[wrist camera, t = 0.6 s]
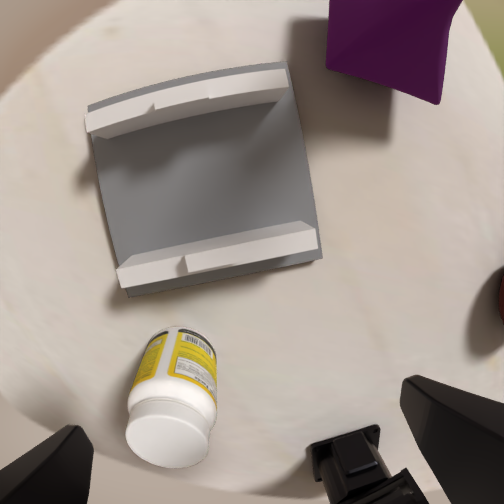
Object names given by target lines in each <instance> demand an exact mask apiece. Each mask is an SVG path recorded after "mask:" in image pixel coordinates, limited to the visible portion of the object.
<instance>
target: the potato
mask: <svg viewBox="0 0 504 504" xmlns="http://www.w3.org/2000/svg"><path fill="white" fill-rule="evenodd" d="M499 312H500V316H501V319H502V321H503V324H504V275H503V278H502V282H501V286H500V291H499Z"/></svg>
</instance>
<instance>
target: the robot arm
mask: <svg viewBox="0 0 504 504" xmlns="http://www.w3.org/2000/svg"><path fill="white" fill-rule="evenodd" d="M400 407H401V409H402V412H403V414H404V416H405V418H406V420H407V423H408V425H409V427H410V429H411V432H412V434H413V436H414V438H415V441H416V443H417V445H418V447H419V449H420V451H421V453H422V455H423V456H424V458H425V460H426V461H427V463H428V465H429V466H430V468H431V470H432V471H433V473H434V475H435V476H436V478H437V480H438V482H439V483H440V485H441V487H442V488H443V490H444V492H445V494H446V495H447V497H448V499H449V500H450V502H451V504H504V403H501V402H497V401H494V400H491V399H488V398H485V397H482V396H479V395H475V394H472V393H469V392H466V391H463V390H460V389H457V388H454V387H451V386H449V385H446V384H443V383H440V382H437V381H434V380H431V379H429V378H426V377H423V376H420V375H413V376H410V377H408V378H405V379H404V380H403V382H402V389H401V396H400ZM379 437H380V427H379V425H373V426H370V427H367V428H364V429H361V430H358V431H355V432H352V433H349V434H346V435H342V436H339V437H336V438H332V439H329V440H325V441H322V442H318V443H315V444H313V445H312V446H311V455H312V463H313V472H314V479H315V482H321V481H323V484H324V487H325V490H326V493H327V496H328V499H329V501H330V504H429V503H428V501H427V499H426V497H425V496H424V494H423V493H422V491H421V490H420V488H419V486H418V485H417V483H416V482H415V480H414V479H413V477H412V476H411V474H410V473H409V471H408V469H407V468H404V469H403V470H401V472H400V473H398V474H396V475H394V476H393V477H392V476H391V474H390V472H389V470H388V468H387V466H386V465H385V463H384V461H383V459H382V457H381V455H380V454H379V452H378V445H379ZM93 454H94V449H93V445H92V443H91V442H90V440H89V438H88V437H87V435H86V433H85V432H84V430H83V428H82V427H81V426H79V425H66V426H65V427H63V428H62V429H60V430H59V431H58V432H56V433H55V434H53V435H52V436H50V437H49V438H47V439H46V440H45V441H43V442H42V443H40V444H39V445H37V446H36V447H34V448H33V449H32V450H30V451H28V452H27V453H25V454H24V455H22V456H21V457H19V458H18V459H16V460H15V461H14V462H12V463H10V464H9V465H8V466H6V467H4V468H3V469H1V470H0V504H87V501H88V496H89V489H90V480H91V470H92V461H93Z"/></svg>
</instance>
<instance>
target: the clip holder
mask: <svg viewBox="0 0 504 504" xmlns="http://www.w3.org/2000/svg"><path fill="white" fill-rule="evenodd" d="M84 115H85V124H86V131H87V133H89V134H91V137H92V144H93V150H94V157H95V163H96V168H97V174H98V179H99V184H100V189H101V194H102V199H103V204H104V208H105V213H106V217H107V222H108V226H109V230H110V234H111V238H112V242H113V246H114V250H115V253H116V257H117V261H118V264H119V267H118V268H117V269H116V272H117V275H118V279H119V282H120V285H121V288H126V291H127V294H128V298H129V297H135V296H140V295H145V294H151V293H156V292H161V291H166V290H172V289H177V288H182V287H187V286H192V285H197V284H202V283H207V282H212V281H217V280H222V279H227V278H232V277H237V276H242V275H247V274H252V273H257V272H261V271H266V270H271V269H276V268H280V267H285V266H290V265H295V264H299V263H304V262H309V261H313V260H318V259H322V258H323V257H322V249H321V242H320V235H319V228H318V221H317V214H316V208H315V201H314V195H313V189H312V183H311V177H310V171H309V166H308V160H307V155H306V149H305V144H304V139H303V134H302V129H301V124H300V119H299V114H298V109H297V104H296V100H295V95H294V91H293V86H292V82H291V78H290V73H289V69H288V65H287V61H285V62H274V63H265V64H256V65H249V66H242V67H235V68H229V69H223V70H217V71H211V72H206V73H201V74H196V75H191V76H187V77H182V78H178V79H174V80H170V81H166V82H162V83H158V84H154V85H150V86H147V87H143V88H140V89H136V90H133V91H130V92H126V93H123V94H120V95H117V96H114V97H111V98H108V99H105V100H102V101H99V102H96V103H94V104H91V105H88V113H86V114H84Z"/></svg>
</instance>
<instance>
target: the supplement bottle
mask: <svg viewBox="0 0 504 504" xmlns="http://www.w3.org/2000/svg"><path fill="white" fill-rule="evenodd" d="M216 364H217V362H216V353H215V350H214V347H213V345H212V344H211V342H210V341H209V340H208V339H207V338H206V337H205V336H204V335H203V334H201V333H200V332H198V331H196V330H194V329H191V328H188V327H180V326H177V327H170V328H166V329H163V330H161V331H159V332H158V333H156V334H155V335H154V336H153V337H152V339H151V340H150V342H149V344H148V346H147V349H146V351H145V354H144V356H143V359H142V362H141V364H140V367H139V369H138V372H137V375H136V377H135V380H134V383H133V385H132V388H131V391H130V394H129V397H128V403H127V406H128V412H129V416H130V417H129V420H128V424H127V427H126V432H125V436H126V441H127V443H128V445H129V447H130V448H131V450H132V451H133V452H134V453H135V454H136V455H137V456H139V457H140V458H142V459H143V460H145V461H147V462H149V463H151V464H154V465H157V466H161V467H165V468H185V467H190V466H193V465H195V464H197V463H199V462H201V461H202V460H203V459H204V458H205V457H206V455H207V453H208V449H209V438H210V431H211V430H212V428H213V427H214V425H215V422H216V416H217V373H216Z"/></svg>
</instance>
